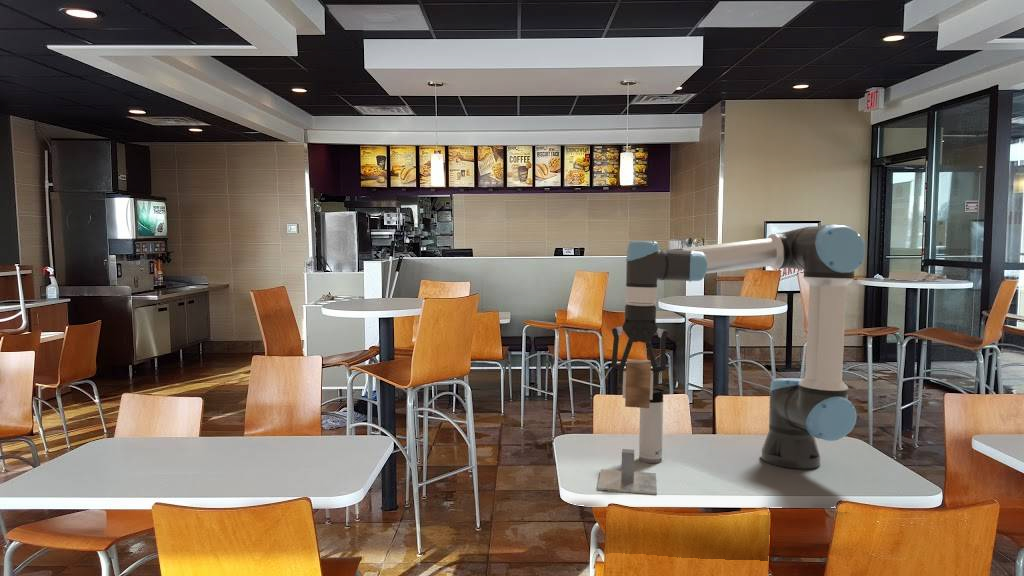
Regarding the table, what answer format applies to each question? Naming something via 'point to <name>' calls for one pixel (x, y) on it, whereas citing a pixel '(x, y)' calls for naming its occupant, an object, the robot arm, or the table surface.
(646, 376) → the tall wooden peg
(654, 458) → the travel mug
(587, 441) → the table surface
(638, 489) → the post
